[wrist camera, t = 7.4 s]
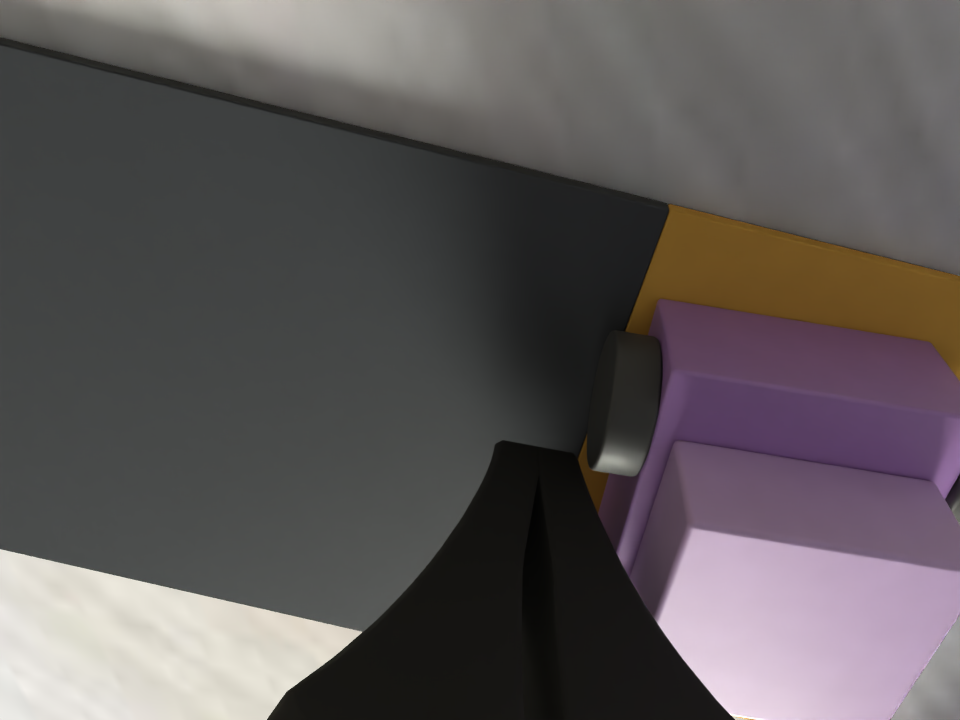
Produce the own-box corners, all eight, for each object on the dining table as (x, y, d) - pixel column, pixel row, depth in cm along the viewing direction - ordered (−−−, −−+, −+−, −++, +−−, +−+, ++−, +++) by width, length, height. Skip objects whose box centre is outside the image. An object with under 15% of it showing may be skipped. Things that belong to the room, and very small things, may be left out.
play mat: (-245, -25, 12) (-262, -22, 12) (1038, 294, 13) (1048, 303, 12) (-114, 512, 18) (-125, 521, 17) (758, 711, 18) (761, 723, 18)
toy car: (614, 289, 13) (630, 440, 9) (975, 347, 13) (1120, 521, 9) (540, 589, 17) (533, 776, 13) (819, 636, 16) (884, 835, 13)
